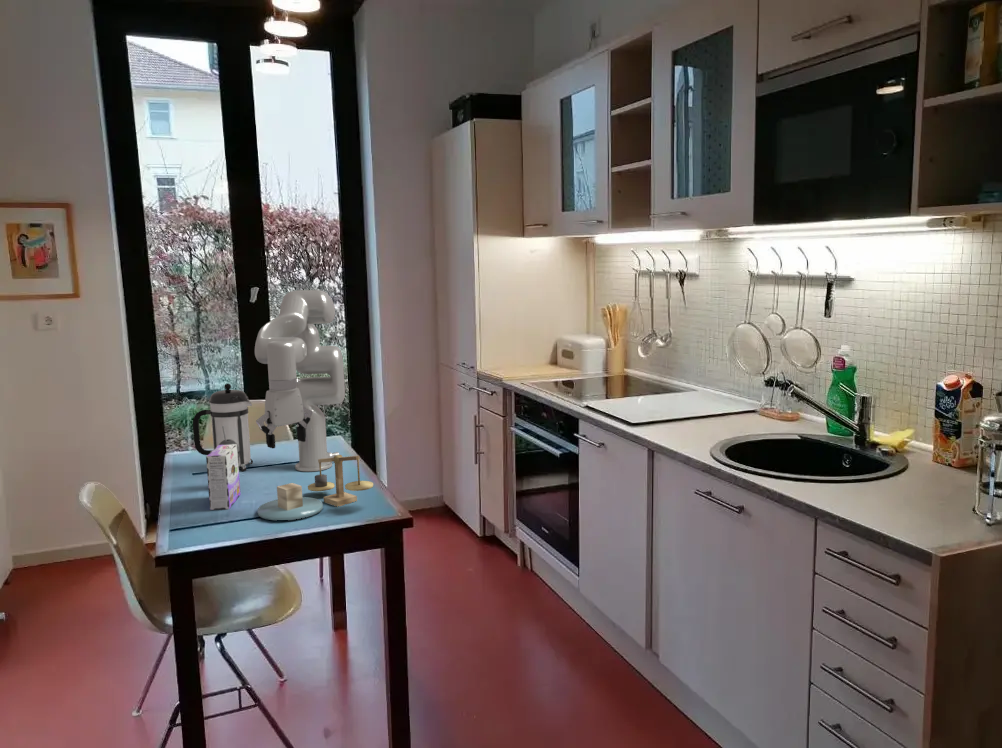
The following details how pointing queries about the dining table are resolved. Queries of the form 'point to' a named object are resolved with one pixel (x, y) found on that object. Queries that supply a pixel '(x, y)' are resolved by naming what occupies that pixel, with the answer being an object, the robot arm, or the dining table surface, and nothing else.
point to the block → (289, 496)
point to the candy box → (223, 477)
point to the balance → (339, 482)
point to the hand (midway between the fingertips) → (286, 444)
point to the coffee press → (227, 422)
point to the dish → (277, 513)
